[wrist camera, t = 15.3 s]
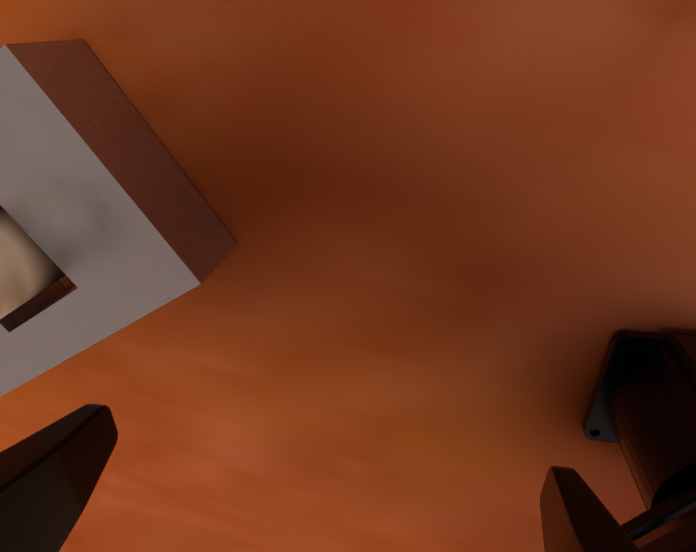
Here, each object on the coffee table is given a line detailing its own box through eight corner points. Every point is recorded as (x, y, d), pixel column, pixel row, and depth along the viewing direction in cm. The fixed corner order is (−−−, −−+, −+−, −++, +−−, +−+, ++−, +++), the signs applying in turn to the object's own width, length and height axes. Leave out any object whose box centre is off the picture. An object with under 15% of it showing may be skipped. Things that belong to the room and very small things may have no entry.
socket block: (237, 243, 23) (201, 284, 19) (44, 355, 29) (-10, 402, 25) (82, 39, 19) (4, 44, 16) (-99, 216, 25) (-184, 247, 22)
